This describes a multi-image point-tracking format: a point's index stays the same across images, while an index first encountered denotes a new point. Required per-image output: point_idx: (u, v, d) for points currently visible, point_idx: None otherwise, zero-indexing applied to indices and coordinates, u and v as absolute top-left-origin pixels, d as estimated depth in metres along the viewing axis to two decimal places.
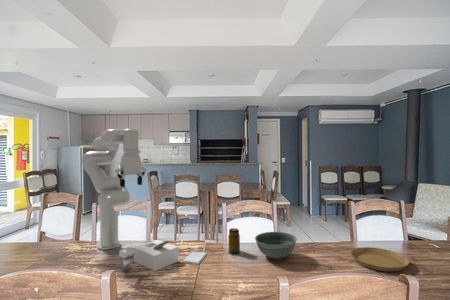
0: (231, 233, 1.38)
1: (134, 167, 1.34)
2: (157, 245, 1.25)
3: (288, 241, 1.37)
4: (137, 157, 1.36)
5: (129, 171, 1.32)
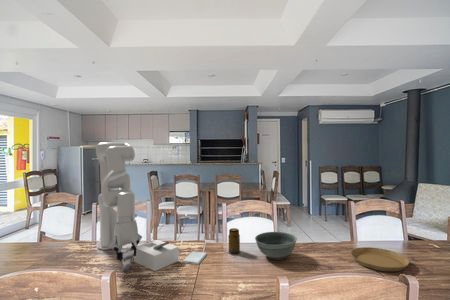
0: (231, 233, 1.38)
1: (130, 236, 1.19)
2: (157, 245, 1.25)
3: (288, 241, 1.37)
4: (133, 223, 1.20)
5: (124, 241, 1.17)
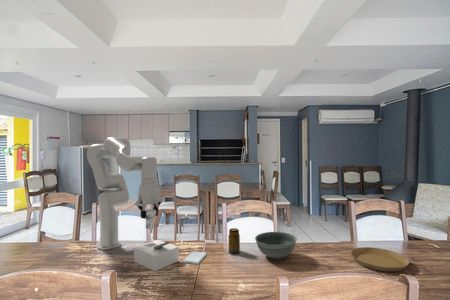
0: (231, 233, 1.38)
1: (152, 196, 1.30)
2: (157, 245, 1.25)
3: (288, 241, 1.37)
4: (155, 186, 1.32)
5: (148, 201, 1.28)
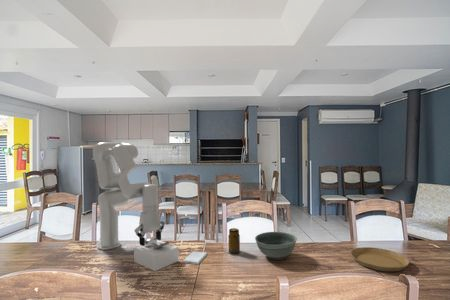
0: (231, 233, 1.38)
1: (153, 224, 1.31)
2: (157, 245, 1.25)
3: (288, 241, 1.37)
4: (156, 213, 1.32)
5: (149, 229, 1.29)
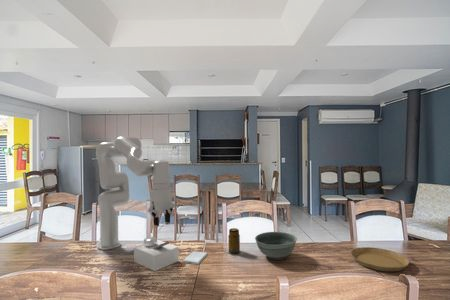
0: (231, 233, 1.38)
1: (165, 202, 1.25)
2: (157, 245, 1.25)
3: (288, 241, 1.37)
4: (168, 191, 1.26)
5: (160, 207, 1.23)
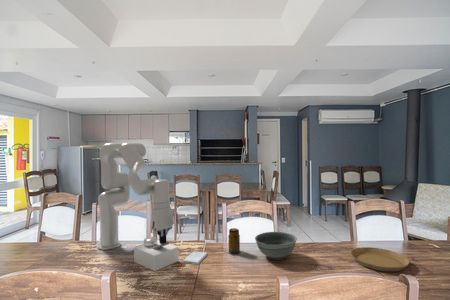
0: (231, 233, 1.38)
1: (166, 221, 1.25)
2: (157, 246, 1.25)
3: (288, 241, 1.37)
4: (169, 210, 1.26)
5: (161, 227, 1.23)
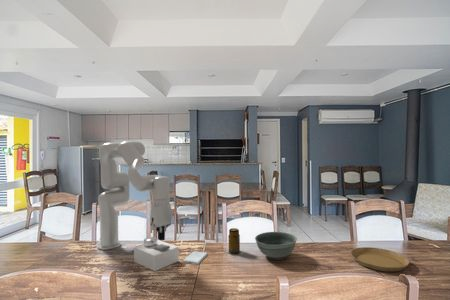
0: (231, 233, 1.38)
1: (165, 218, 1.25)
2: (158, 248, 1.24)
3: (288, 241, 1.37)
4: (168, 206, 1.26)
5: (160, 223, 1.23)
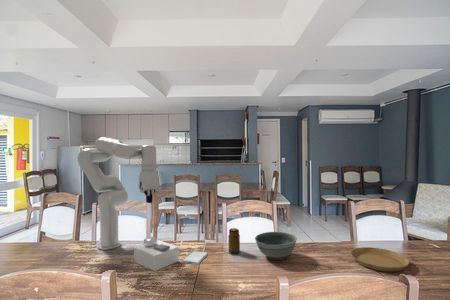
0: (231, 233, 1.38)
1: (152, 182, 1.38)
2: (158, 248, 1.24)
3: (288, 241, 1.37)
4: (155, 172, 1.40)
5: (148, 187, 1.36)
